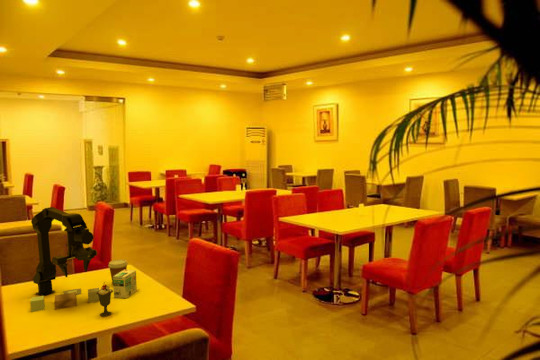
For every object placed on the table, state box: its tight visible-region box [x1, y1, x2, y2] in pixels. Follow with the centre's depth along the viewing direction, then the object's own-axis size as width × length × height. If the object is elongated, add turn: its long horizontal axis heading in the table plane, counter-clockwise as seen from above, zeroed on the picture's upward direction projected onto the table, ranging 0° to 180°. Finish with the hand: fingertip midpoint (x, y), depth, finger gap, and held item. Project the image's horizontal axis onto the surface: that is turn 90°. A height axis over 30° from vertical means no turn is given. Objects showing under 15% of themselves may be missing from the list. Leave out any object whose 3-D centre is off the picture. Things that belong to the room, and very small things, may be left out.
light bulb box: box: [112, 269, 138, 299], centre depth 203 cm, size 11×7×11 cm, turn 168°
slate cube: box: [87, 287, 100, 304], centre depth 196 cm, size 5×5×5 cm
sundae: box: [96, 282, 114, 318], centre depth 179 cm, size 7×7×15 cm
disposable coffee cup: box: [108, 259, 129, 284], centre depth 217 cm, size 10×10×12 cm
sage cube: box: [29, 295, 46, 313], centre depth 187 cm, size 5×5×5 cm
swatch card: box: [62, 288, 82, 296], centre depth 206 cm, size 8×8×1 cm
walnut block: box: [53, 292, 78, 311], centre depth 192 cm, size 9×9×4 cm
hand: (76, 274), depth 191 cm, fingers open, 9 cm apart
